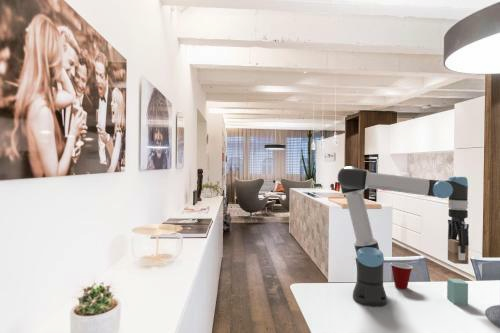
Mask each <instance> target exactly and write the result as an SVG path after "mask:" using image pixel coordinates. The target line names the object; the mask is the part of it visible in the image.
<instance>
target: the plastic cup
mask: <svg viewBox="0 0 500 333" xmlns="http://www.w3.org/2000/svg"><path fill="white" fill-rule="evenodd" d="M390 266H391V271H392V278H393V281H394V283H393V284H394V287H396V288H397V289H400V290H406V289H408V286H409V281H410V277H411V272H412V270H413V269H414V267H413V266H412V265H410V264H407V263H402V262H390Z"/></svg>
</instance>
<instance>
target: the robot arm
mask: <svg viewBox="0 0 500 333" xmlns="http://www.w3.org/2000/svg"><path fill="white" fill-rule="evenodd" d="M337 181H338V184H339V185H340V190H341V194H342V195H343V196H345V198H346V202H347V208H348V211H349V216H350V219H351V222H352V223H351V224H352V228H353V231H354V232H353V233H354V236H355V242H354V250H355V252H356V253H355V254H356V282H355V286H354V288H353V291H352V299H353V300H354V301H355V302H357V303H359V304H362V305H366V306H369V307H383V306H386V305H387V303H388V298H387V293H386V291H385V288H384V262H385V259H384V258H385V257H384V253H383V252H382V250H380V246H379V243H378V240H376V239H375V238H374V235H373V231H372V227H371V222H370V218H369V215H368V211H367V210H368V209H367V206H366V201H365V198H364V191H365V190H367V189H374V190H382V191H388V192H397V193H402V194H403V193H405V194H411V195H419V196H425V197H427V196H428V197H433V198H438V199H447V198H448V205H447V206H448V217H449V218H451V219H447V223H448V226H447V228H448V229H447V240H448V239H458V240H459V245H458V260H465V246H468V247H470V246H469V245H470V244H469V243H470V241H469V226H470V225H469V223H466V221H465V219H468V216H469V214H468V213H469V212H468V208H469V207H468V205H469V202H468V200H469V199H468V198H469V197H468V195H469V192H468V190H469V183H468V178H467V177H466V176H449V177H448V180H441V179H440V180H439V179H437V180H436V179H428V178H420V177H413V176H412V177H411V176H404V175H403V176H402V175H396V174H387V173H378V172H371V171H369V169H363V168H360V167H359V168H358V167H356V166H352V165H348V166H344V167H342V168H341V169H339V171H338V174H337Z"/></svg>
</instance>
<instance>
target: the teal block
mask: <svg viewBox="0 0 500 333" xmlns="http://www.w3.org/2000/svg"><path fill="white" fill-rule="evenodd" d="M446 282H447V283H446V284H447V288H446V289H447V292H446V298H447V300H448V301H449V302H450V303H451V302H452V303H451V304H453V305H456V306H457V305H458V306H468V305H469V283H468V282H466V281H465V280H463V279H461V278H449V277H447V279H446Z"/></svg>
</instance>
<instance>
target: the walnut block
mask: <svg viewBox="0 0 500 333" xmlns="http://www.w3.org/2000/svg"><path fill="white" fill-rule="evenodd" d="M458 245H459V239H458V238H457V239H448V238H447V261H450V263H453V264H456V265H457V264H458V265H469V246H465V260H458Z"/></svg>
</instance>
